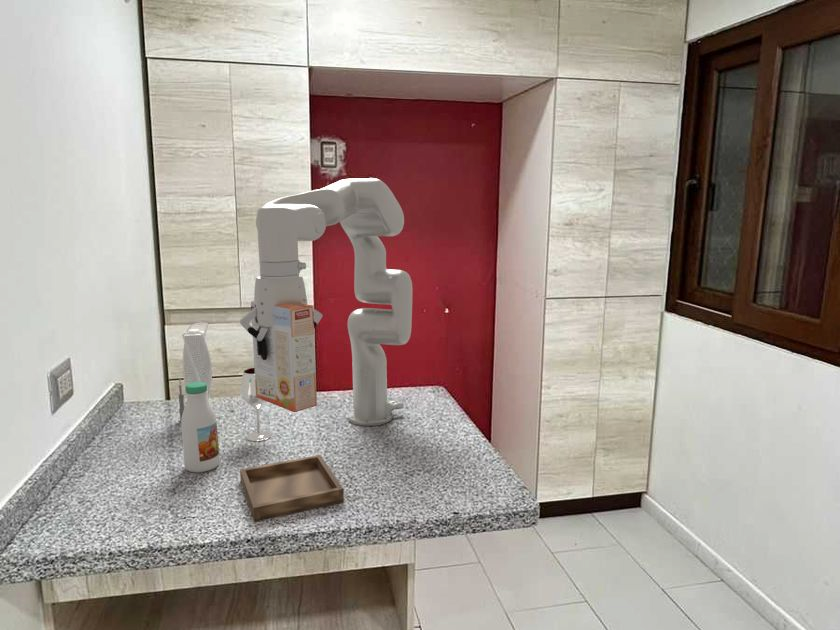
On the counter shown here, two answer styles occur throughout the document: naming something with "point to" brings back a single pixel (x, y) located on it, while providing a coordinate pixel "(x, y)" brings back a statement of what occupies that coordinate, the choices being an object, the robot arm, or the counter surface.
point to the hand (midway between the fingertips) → (283, 355)
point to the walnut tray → (290, 487)
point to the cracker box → (287, 359)
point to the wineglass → (252, 403)
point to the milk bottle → (199, 430)
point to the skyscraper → (195, 362)
